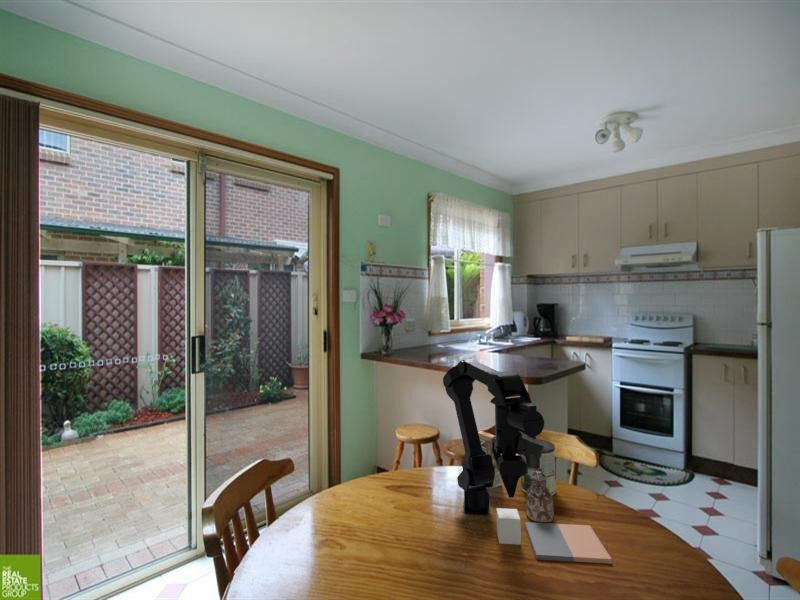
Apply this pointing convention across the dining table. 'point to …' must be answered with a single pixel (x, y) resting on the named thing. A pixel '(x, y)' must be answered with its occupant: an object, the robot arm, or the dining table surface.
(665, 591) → the dining table surface
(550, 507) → the figurine
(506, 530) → the cream block
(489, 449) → the candy box
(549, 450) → the coffee can
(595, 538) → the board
